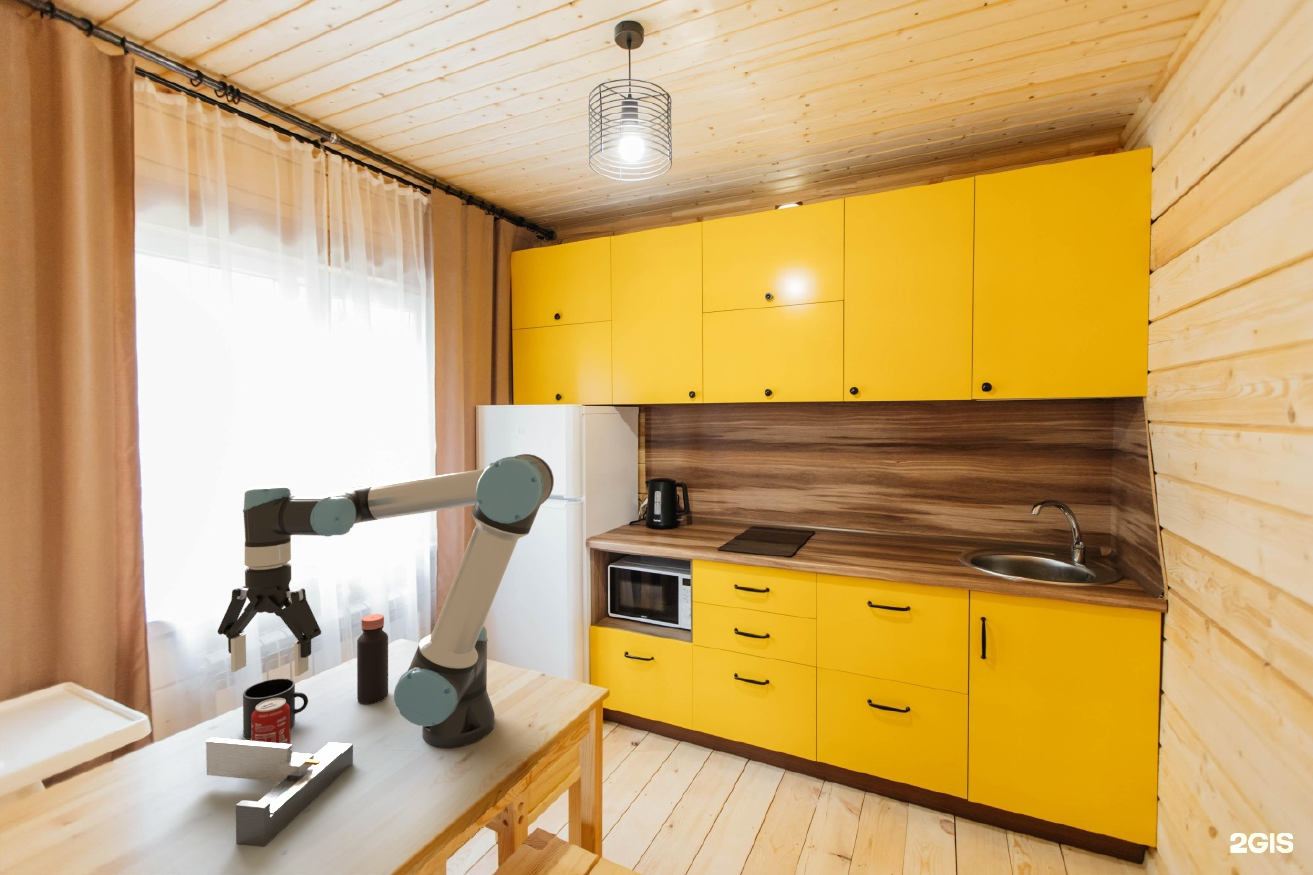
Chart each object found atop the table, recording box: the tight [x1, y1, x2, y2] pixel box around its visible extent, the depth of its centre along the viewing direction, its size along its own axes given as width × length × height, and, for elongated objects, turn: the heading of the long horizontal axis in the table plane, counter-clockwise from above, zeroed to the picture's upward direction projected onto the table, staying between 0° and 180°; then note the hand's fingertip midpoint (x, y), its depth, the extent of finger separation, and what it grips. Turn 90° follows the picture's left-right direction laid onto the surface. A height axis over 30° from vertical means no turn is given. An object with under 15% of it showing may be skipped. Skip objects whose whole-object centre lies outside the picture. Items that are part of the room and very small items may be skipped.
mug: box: [242, 678, 309, 740], centre depth 125 cm, size 9×12×9 cm
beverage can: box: [251, 698, 291, 744], centre depth 112 cm, size 6×6×12 cm
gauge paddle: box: [205, 737, 320, 783], centre depth 104 cm, size 22×4×6 cm, turn 84°
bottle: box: [356, 613, 389, 705], centre depth 138 cm, size 7×7×20 cm
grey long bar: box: [235, 741, 354, 848], centre depth 102 cm, size 5×22×6 cm, turn 174°
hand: (270, 671), depth 112 cm, fingers open, 13 cm apart
